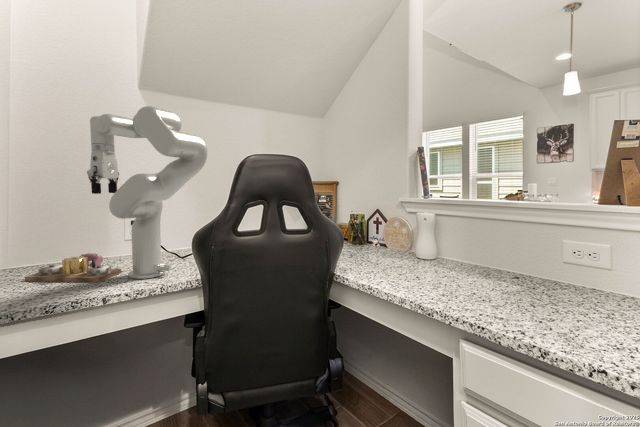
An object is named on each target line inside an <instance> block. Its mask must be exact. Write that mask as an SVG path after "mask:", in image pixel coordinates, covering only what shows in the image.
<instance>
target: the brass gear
mask: <svg viewBox="0 0 640 427" xmlns="http://www.w3.org/2000/svg"><path fill="white" fill-rule="evenodd" d="M79 256H80V257H79ZM79 256H71V257H66V258H63V259H61V262H62V264H61V265H62V269H63V274H66V275H71V274H80V273H85V272H86V270H87V268H88V257H84V256H81V255H79Z"/></svg>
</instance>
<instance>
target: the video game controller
mask: <svg viewBox="0 0 640 427" xmlns="http://www.w3.org/2000/svg"><path fill="white" fill-rule="evenodd" d="M80 256H84V257H88V267H92V259H95V266H98V265H102V263H103V261H104V257H103V256H102V255H100V254H98V253H91V252H89V253H85V254H84V253H82V254H80V255H79V256H78V257H80Z"/></svg>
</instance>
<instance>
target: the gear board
mask: <svg viewBox="0 0 640 427" xmlns="http://www.w3.org/2000/svg"><path fill="white" fill-rule="evenodd" d="M91 262H92V267H90V266H89V267H88V268H87V270H86V272H85V273H80V274H71V275H66V274H63V269H62V264H51V265H50V264H49V265H44V266H40V267H39V268H37V271H38V272H35V273H33V274H30V275H27V276H26V275H25V276H24V281H25V282H57V283H59V282H62V283H63V282H66V283H69V282H70V283H102V282H104V281H106V280H108V279H111V278H113V277H115V276H118V275H119V274H121V273H122V272H123V271H122V268H112V267H111V265H109V264H108V265H102V264H100V265H98V266H95V259H92V261H91Z"/></svg>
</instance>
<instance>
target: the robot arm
mask: <svg viewBox="0 0 640 427" xmlns="http://www.w3.org/2000/svg"><path fill="white" fill-rule="evenodd" d="M89 124H90V125H89V127H90V144H91V145H90V150H91V154H90V164H89V166H90V168H89V169H88V170H86V174H87V178H88V179H89V183H90V185H91V186H90V187H91V194H93V195H94V194H95V195H96V194H97V195H100V194H102V183H100V182H101V180H102V179H107V181H108V183H107V184H108V185H107V186H108V190H107V191H108V193H109V194H113V195H112V196H111V198H110V200H109V203H108V204H109V205H108V206H109V207H108V208H109V211H110V213H111V214H112V216H114V217H116V218H117V219H120V220H121V219H122V220H127V219H134V221H133V222H132V225H131V230H130V232H131V255H132V258H131V260H132V270H131V271H129V272H128V273H127V276H128V278H131V279H135V280H141V279H142V280H144V279H151V278H158V277H161V276H163V275H165V274H167V273H166V272H171V270H172V266H171V264H165V262H164V261H163V260H162V248H161V247H162V246H161V239H162V238H161V218H162V211H163V206H164V205H163V201H167V200H169V199H171V197H173V196H174V195H175V194H176V193H177V192H178V191H179V190H180V189H182V188H183V187H184V186H185V184H187V183H188V182H189V181H190V180H192V178H193V177H194V176H196V175H197V174H198V173H199V172H200V171H201V170H202V169H203V167H204V166H205V164H206V162H207V159H208V146H207V144H206V142H205V141H204V139H202V138H201V137H199V136H197V135H196V134H190V133H187V132H184V131H183V132H182V131H181V129H182V121H181V119H180V117H179V116H178V115H177V114H176V113H174V112H172V111H169V110H166V109H163V108H158V107H156V106H151V105H146V106H143V107H141V108H140V109H138V110H137V112H136V113H135V115H134V116H133V118H129V117H125V116H121V115H117V114H112V113H104V114H101V115H99V116H98V115H94V116H91V117H90V120H89ZM115 137H123V138H128V139H129V138H130V139H147V141H148V142H149V143H150V145H151V146H152V147H153V148H154V149H155V150H156V151H157V152H158V153H159V154H160V155H162V156H164V157H172V158H177V159H175V160H173V161H171V162H169V163H167V165H165V167H164V168H163V169H162V170H161V171H159V172H156V173H136V174H133V175H132V176H130V177H129V178H128V179H127V180H126V181H125V182H124V183H123V184H121V186H120V187H118V181H119V179H120V178H119V176H120V172H119V169H118V160H117V156H116V153H115V151H116V150H115Z"/></svg>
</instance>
